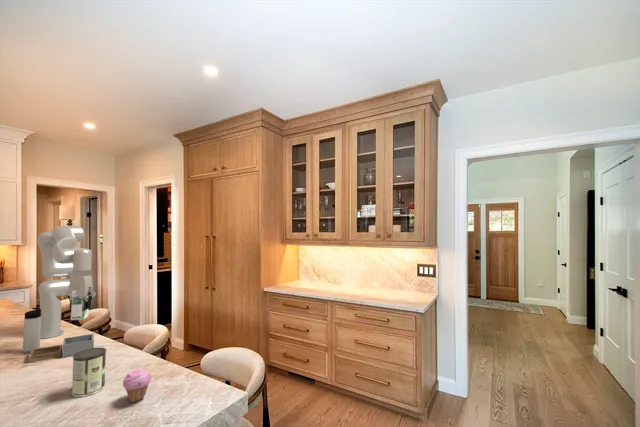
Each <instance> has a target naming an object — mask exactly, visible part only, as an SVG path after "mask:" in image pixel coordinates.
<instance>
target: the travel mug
mask: <svg viewBox="0 0 640 427" xmlns="http://www.w3.org/2000/svg"><path fill="white" fill-rule="evenodd" d="M40 329H41V309H40V308H36V309H35V310H34V309H33V310H29V311H26V312H24V321H23V337H22V339H23V340H22V353H23V354H30V352H31V350H33V349H39V348H40V344H41V339H40Z"/></svg>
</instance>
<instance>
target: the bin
mask: <svg viewBox="0 0 640 427" xmlns="http://www.w3.org/2000/svg"><path fill="white" fill-rule="evenodd" d="M94 337H95V335H94V333H88V334H83V335H77V336H70V337H64V338H63V343H62V353H61V359H65V358H69V357H73V355H74V354H75V353H77V352H79V351H82V350H86V349H90V348H95V347H94V346H95V338H94Z"/></svg>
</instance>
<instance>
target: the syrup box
mask: <svg viewBox="0 0 640 427" xmlns="http://www.w3.org/2000/svg"><path fill="white" fill-rule="evenodd" d="M76 293H77V291H72V307H71V309H70V310H71V312H70V321H80V320H81V321H82V320H85V319H87V318H88V317H89V311H90V309H87V310H84V302H86V301H85V297H77V294H76ZM87 298H88V297H87Z"/></svg>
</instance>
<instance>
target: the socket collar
mask: <svg viewBox="0 0 640 427" xmlns="http://www.w3.org/2000/svg"><path fill="white" fill-rule="evenodd" d="M62 350H63V344H58V345H52V346H47V347H41V348H39V349H33V350H31V352H30V353H28V354H29V355H28V356H27V364H30V363H35V362H42V361H46V360H53V359H58V358H62Z"/></svg>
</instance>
